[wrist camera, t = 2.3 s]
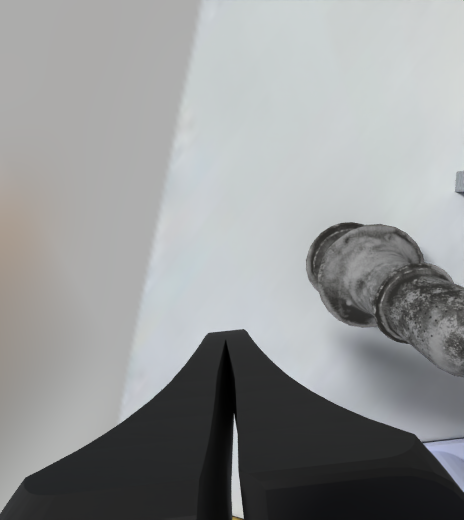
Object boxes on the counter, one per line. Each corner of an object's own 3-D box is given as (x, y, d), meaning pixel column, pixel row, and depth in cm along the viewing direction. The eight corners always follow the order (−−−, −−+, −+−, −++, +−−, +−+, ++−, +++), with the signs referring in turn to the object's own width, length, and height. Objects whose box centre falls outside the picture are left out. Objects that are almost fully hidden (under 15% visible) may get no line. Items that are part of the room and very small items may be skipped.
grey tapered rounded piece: (386, 209, 19) (640, 244, 8) (392, 294, 21) (615, 435, 9) (295, 227, 19) (408, 290, 8) (307, 311, 21) (419, 472, 9)
